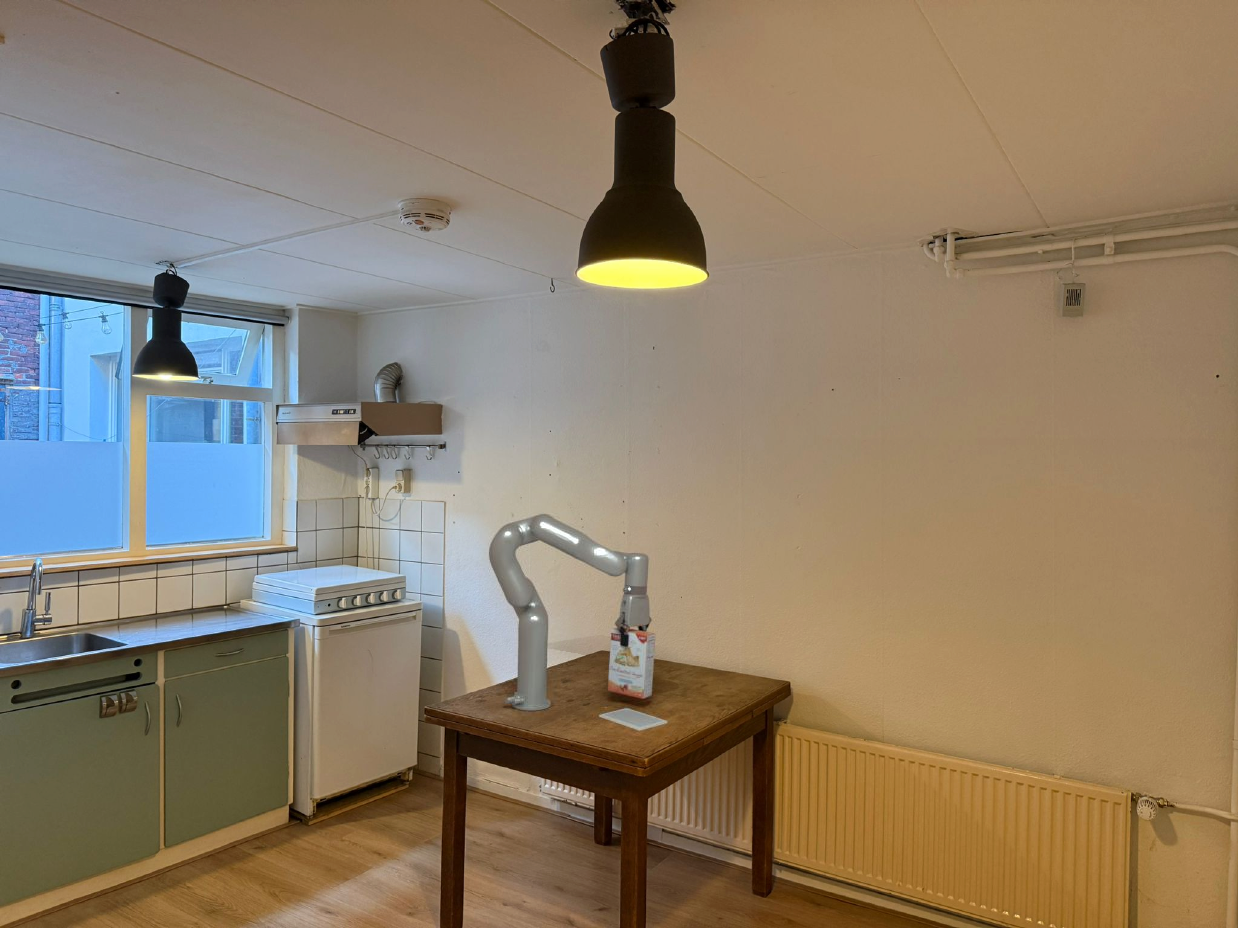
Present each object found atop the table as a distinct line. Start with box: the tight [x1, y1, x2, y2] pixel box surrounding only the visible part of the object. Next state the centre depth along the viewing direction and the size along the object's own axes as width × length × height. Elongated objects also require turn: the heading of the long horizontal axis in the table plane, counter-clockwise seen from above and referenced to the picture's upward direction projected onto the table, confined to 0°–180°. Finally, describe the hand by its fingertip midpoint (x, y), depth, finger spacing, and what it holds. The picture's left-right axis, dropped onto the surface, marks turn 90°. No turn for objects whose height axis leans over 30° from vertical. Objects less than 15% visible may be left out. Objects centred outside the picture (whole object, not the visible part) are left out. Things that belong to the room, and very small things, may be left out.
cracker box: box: [607, 627, 656, 700], centre depth 272 cm, size 14×6×21 cm, turn 58°
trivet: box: [599, 707, 668, 732], centre depth 256 cm, size 12×18×1 cm, turn 44°
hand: (632, 644), depth 272 cm, fingers closed on cracker box, 6 cm apart
